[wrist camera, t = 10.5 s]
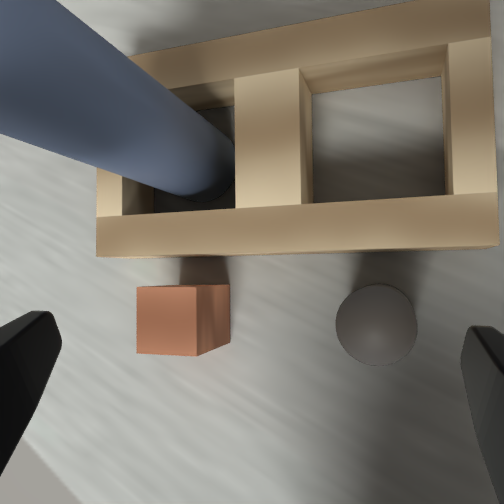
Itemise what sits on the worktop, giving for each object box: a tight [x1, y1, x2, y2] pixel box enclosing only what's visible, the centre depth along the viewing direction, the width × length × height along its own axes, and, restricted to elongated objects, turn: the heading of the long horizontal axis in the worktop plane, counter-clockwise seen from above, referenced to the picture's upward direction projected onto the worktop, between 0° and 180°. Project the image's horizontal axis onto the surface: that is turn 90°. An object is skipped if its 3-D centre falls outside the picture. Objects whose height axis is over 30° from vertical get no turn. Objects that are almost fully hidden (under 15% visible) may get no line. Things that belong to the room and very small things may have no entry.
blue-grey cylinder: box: [0, 0, 235, 202], centre depth 17 cm, size 4×4×14 cm
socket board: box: [96, 0, 500, 366], centre depth 20 cm, size 14×18×4 cm
